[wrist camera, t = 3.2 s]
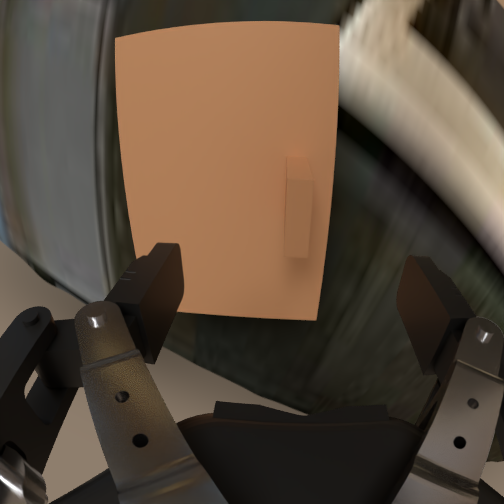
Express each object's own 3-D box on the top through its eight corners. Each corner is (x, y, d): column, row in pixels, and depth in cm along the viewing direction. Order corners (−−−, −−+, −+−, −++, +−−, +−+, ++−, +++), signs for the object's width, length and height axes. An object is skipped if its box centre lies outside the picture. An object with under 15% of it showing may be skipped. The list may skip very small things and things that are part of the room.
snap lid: (334, 31, 16) (357, 5, 10) (314, 304, 26) (320, 369, 20) (128, 40, 17) (70, 30, 11) (155, 294, 27) (124, 350, 21)
